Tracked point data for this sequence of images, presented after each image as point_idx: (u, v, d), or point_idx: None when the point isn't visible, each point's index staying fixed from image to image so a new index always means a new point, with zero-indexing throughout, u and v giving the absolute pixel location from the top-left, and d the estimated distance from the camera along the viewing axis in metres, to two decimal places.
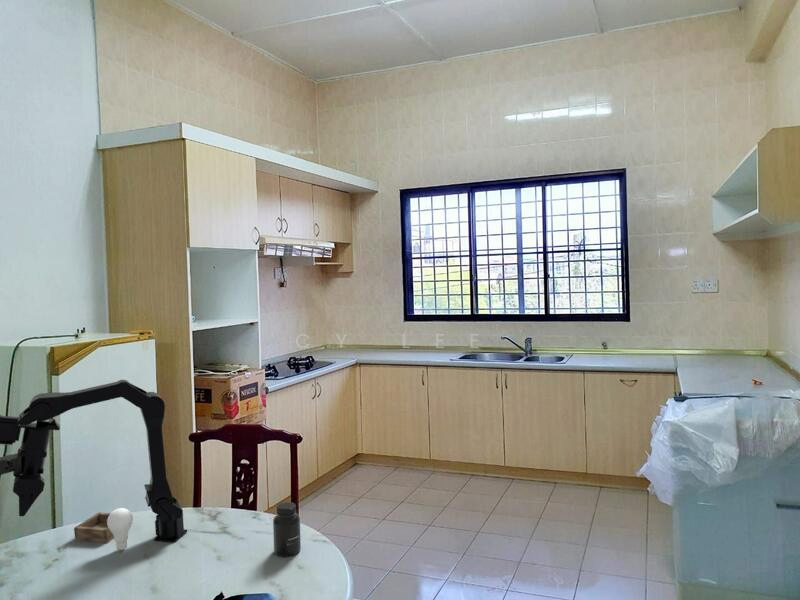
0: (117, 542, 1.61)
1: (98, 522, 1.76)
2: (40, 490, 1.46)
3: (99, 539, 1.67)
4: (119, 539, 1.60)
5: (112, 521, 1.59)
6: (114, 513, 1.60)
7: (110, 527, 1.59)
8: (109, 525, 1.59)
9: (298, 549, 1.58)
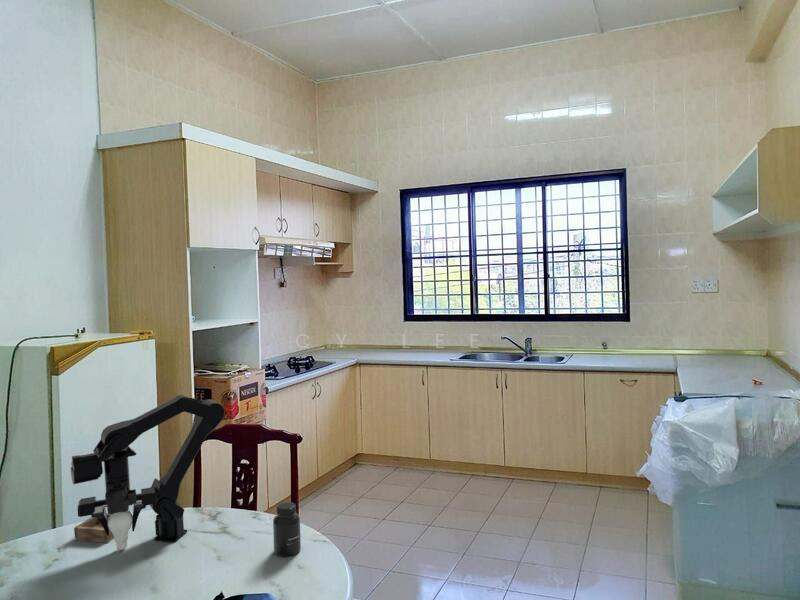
0: (117, 542, 1.61)
1: (98, 522, 1.76)
2: None
3: (99, 539, 1.67)
4: (119, 539, 1.60)
5: (113, 521, 1.59)
6: (114, 513, 1.60)
7: (110, 527, 1.59)
8: (109, 525, 1.59)
9: (298, 549, 1.58)
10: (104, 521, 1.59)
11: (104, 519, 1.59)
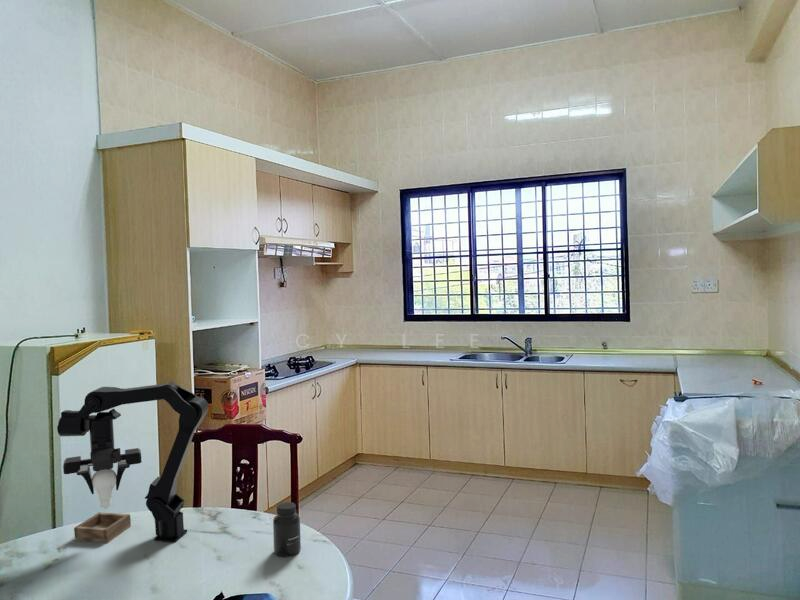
0: (101, 500, 1.67)
1: (98, 522, 1.76)
2: None
3: (99, 539, 1.67)
4: (103, 497, 1.66)
5: (97, 479, 1.65)
6: (99, 472, 1.66)
7: (95, 485, 1.65)
8: (94, 483, 1.65)
9: (298, 549, 1.58)
10: (89, 479, 1.65)
11: (89, 477, 1.65)
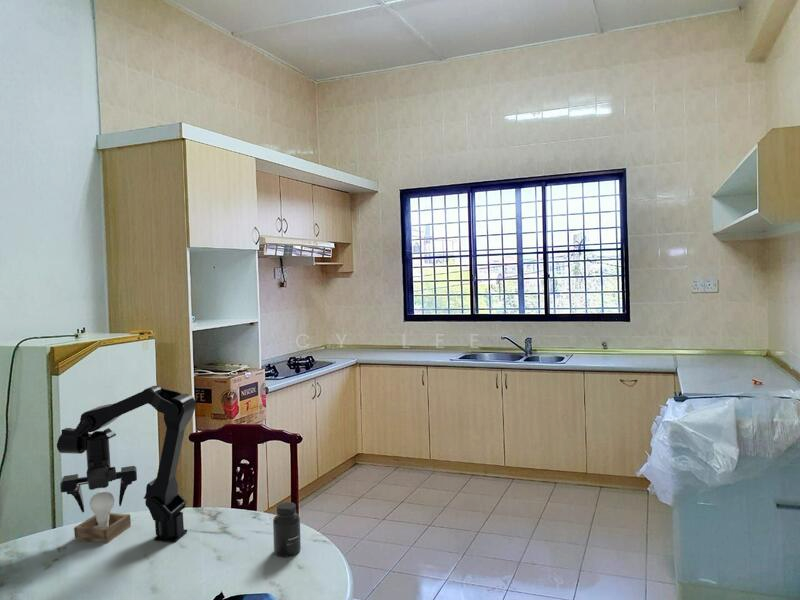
0: (99, 522, 1.70)
1: None
2: None
3: (99, 539, 1.67)
4: (101, 520, 1.70)
5: (95, 503, 1.68)
6: (96, 495, 1.70)
7: (92, 508, 1.69)
8: (92, 506, 1.69)
9: (298, 549, 1.58)
10: (79, 498, 1.68)
11: (79, 496, 1.68)
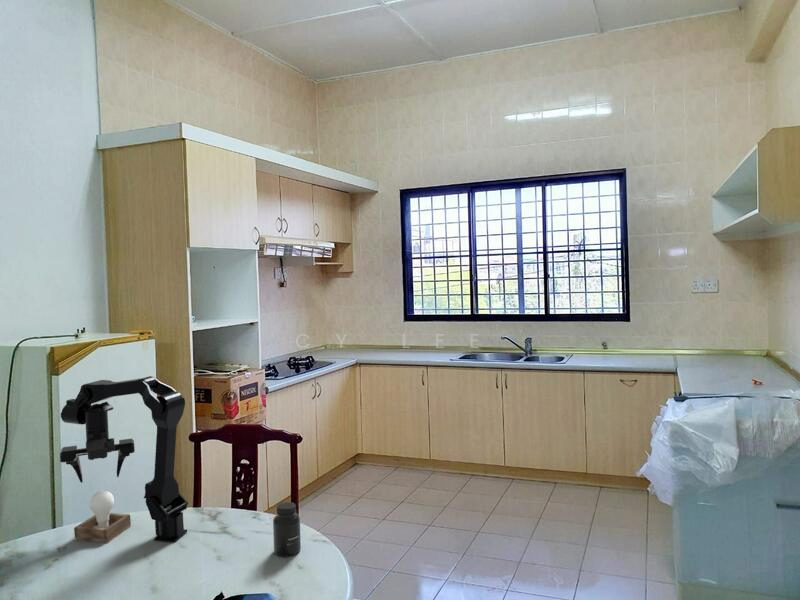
0: (99, 522, 1.71)
1: None
2: None
3: (99, 539, 1.67)
4: (101, 520, 1.70)
5: (95, 502, 1.69)
6: (96, 495, 1.70)
7: (92, 508, 1.69)
8: (91, 506, 1.69)
9: (298, 549, 1.58)
10: (78, 468, 1.73)
11: (78, 467, 1.73)
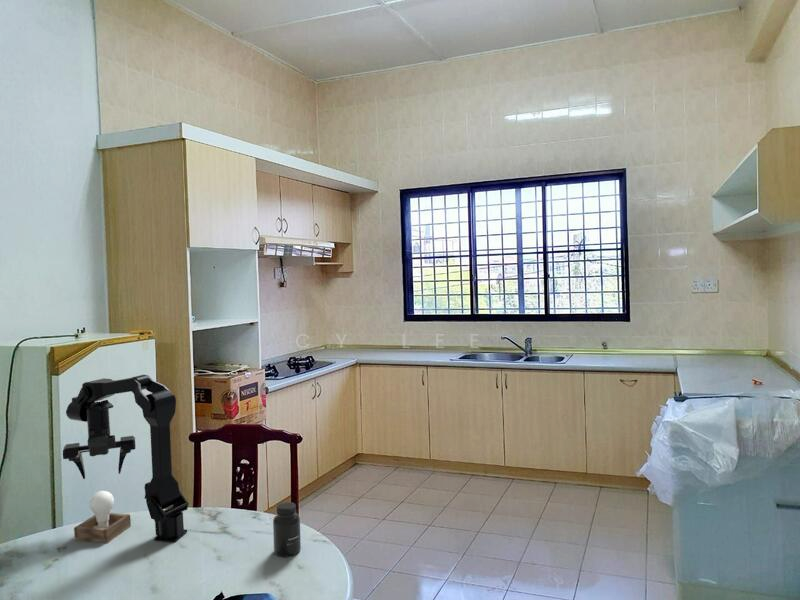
0: (99, 522, 1.71)
1: None
2: None
3: (99, 539, 1.67)
4: (101, 520, 1.70)
5: (94, 502, 1.69)
6: (96, 495, 1.70)
7: (92, 508, 1.69)
8: (91, 506, 1.69)
9: (298, 549, 1.58)
10: (80, 465, 1.77)
11: (80, 463, 1.77)
